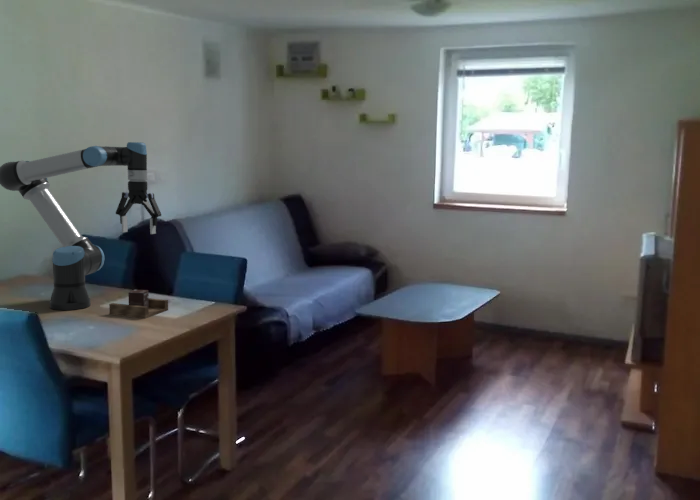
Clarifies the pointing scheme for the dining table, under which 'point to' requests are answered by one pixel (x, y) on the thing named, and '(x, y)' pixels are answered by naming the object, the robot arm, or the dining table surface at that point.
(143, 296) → the box
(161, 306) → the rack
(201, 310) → the dining table surface
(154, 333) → the dining table surface
